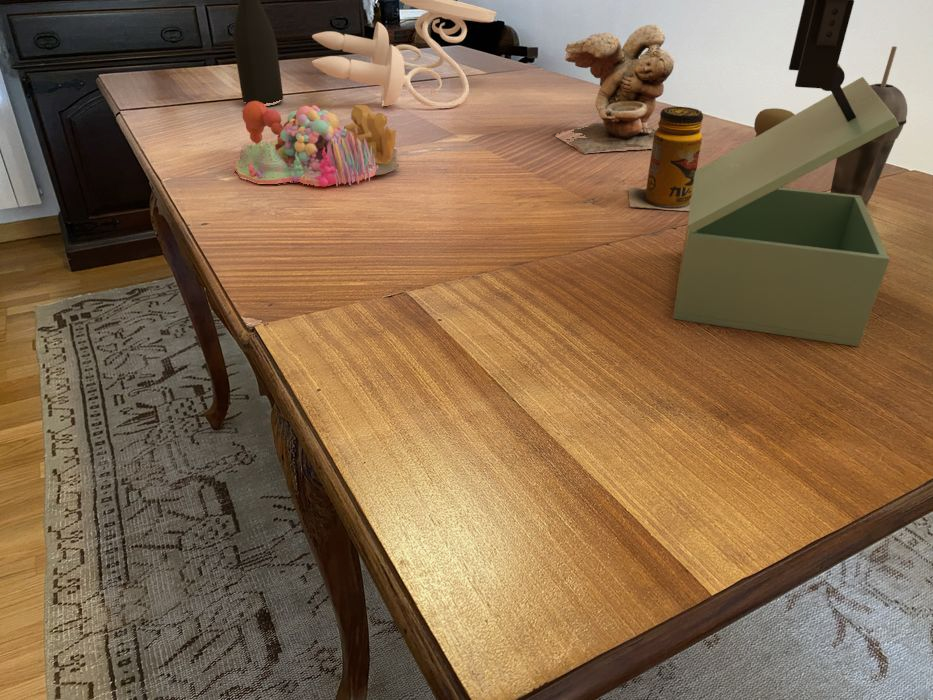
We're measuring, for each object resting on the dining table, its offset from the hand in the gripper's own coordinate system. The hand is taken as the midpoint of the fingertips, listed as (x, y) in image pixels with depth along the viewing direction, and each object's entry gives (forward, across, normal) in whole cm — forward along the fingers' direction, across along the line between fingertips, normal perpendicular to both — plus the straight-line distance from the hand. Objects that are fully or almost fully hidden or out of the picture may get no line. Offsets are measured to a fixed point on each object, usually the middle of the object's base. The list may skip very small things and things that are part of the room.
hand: (808, 77), depth 61 cm
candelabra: (+21, -80, -70) cm, 109 cm away
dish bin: (+21, 0, 0) cm, 21 cm away
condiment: (+21, -25, -12) cm, 35 cm away
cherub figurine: (+21, -54, -22) cm, 62 cm away
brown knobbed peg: (+21, -34, +2) cm, 40 cm away
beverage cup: (+21, -31, +12) cm, 40 cm away
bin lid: (+7, 0, -1) cm, 7 cm away
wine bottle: (+21, -57, -92) cm, 111 cm away
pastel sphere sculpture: (+21, -24, -62) cm, 70 cm away
